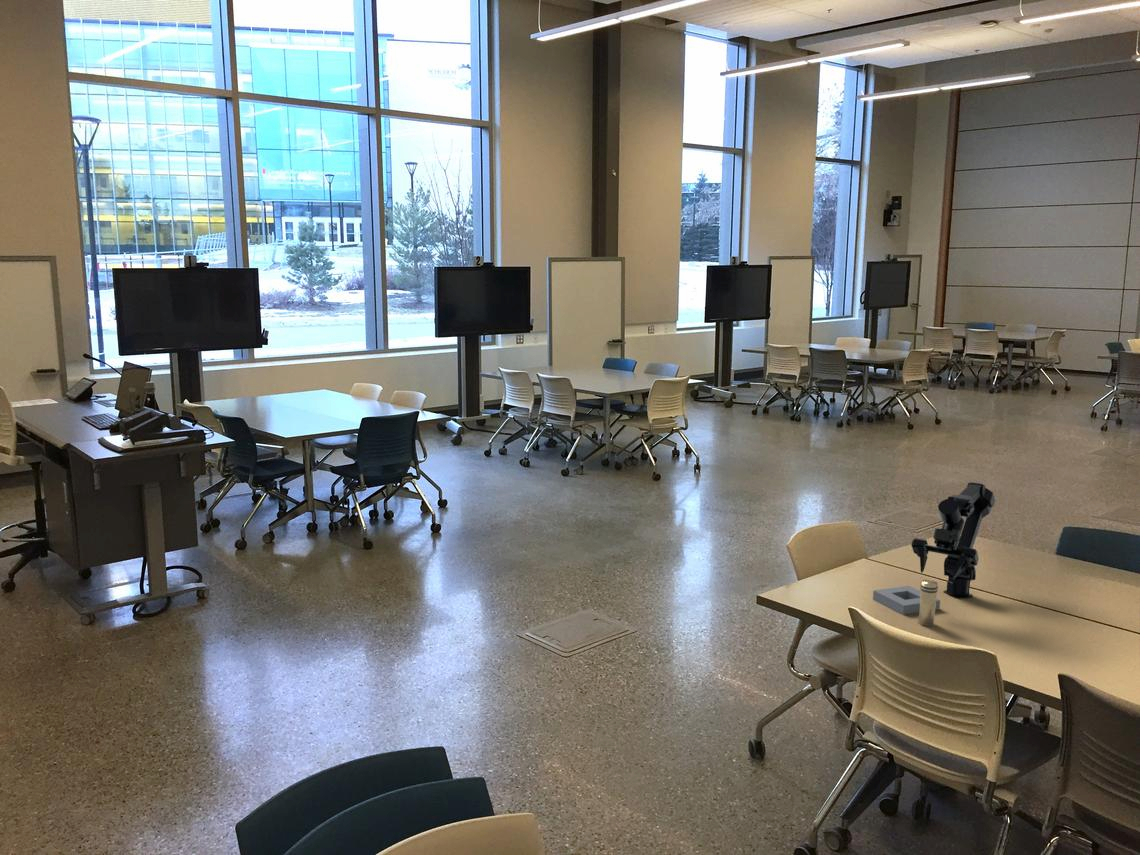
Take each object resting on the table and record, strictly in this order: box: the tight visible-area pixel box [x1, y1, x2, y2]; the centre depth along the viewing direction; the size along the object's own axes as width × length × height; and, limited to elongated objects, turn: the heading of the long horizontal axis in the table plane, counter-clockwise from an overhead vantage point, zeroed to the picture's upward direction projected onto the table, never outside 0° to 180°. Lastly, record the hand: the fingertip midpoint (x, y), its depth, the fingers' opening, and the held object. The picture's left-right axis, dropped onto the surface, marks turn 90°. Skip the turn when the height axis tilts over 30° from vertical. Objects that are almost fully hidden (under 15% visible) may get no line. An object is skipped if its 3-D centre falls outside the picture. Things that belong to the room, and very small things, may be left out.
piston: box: [917, 579, 939, 628], centre depth 263 cm, size 5×5×13 cm
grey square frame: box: [872, 585, 941, 616], centre depth 279 cm, size 14×14×3 cm
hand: (937, 575), depth 267 cm, fingers open, 9 cm apart
